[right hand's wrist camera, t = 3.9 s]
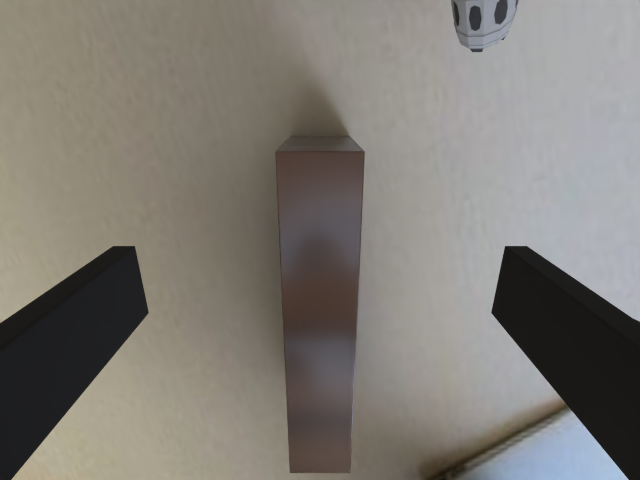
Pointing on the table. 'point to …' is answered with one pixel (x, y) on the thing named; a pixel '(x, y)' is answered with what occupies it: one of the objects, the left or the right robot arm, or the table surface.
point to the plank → (320, 294)
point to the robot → (482, 21)
